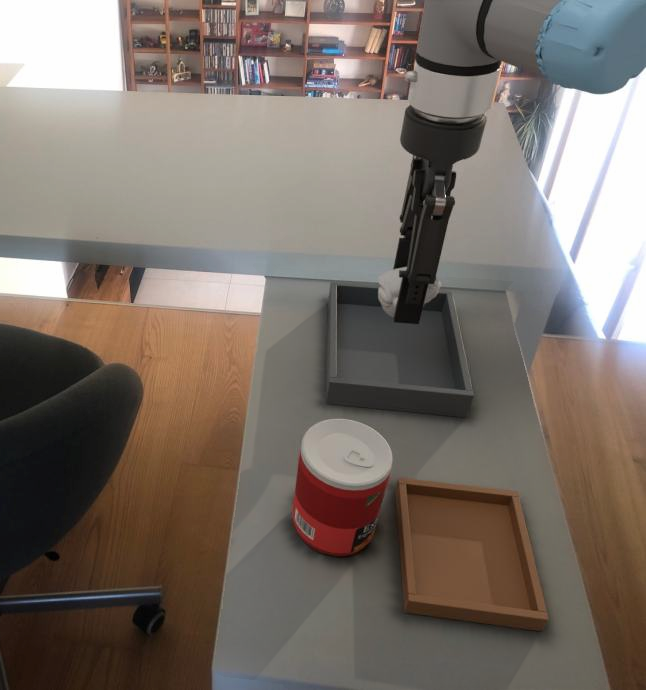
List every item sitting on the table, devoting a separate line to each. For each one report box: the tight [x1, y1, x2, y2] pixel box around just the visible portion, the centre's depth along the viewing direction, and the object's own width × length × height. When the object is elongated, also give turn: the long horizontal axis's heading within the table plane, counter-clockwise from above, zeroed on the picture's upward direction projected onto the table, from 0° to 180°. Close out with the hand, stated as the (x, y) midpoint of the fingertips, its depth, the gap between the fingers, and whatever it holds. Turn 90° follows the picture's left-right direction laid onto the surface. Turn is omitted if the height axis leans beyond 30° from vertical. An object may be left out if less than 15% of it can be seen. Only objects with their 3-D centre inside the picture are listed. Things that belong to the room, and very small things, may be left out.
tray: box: [394, 477, 550, 632], centre depth 64 cm, size 13×11×2 cm
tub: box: [325, 281, 475, 419], centre depth 85 cm, size 20×16×4 cm
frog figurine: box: [377, 267, 443, 318], centre depth 80 cm, size 6×7×7 cm
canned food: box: [291, 418, 394, 557], centre depth 64 cm, size 8×8×11 cm
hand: (404, 303), depth 81 cm, fingers closed on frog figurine, 6 cm apart
